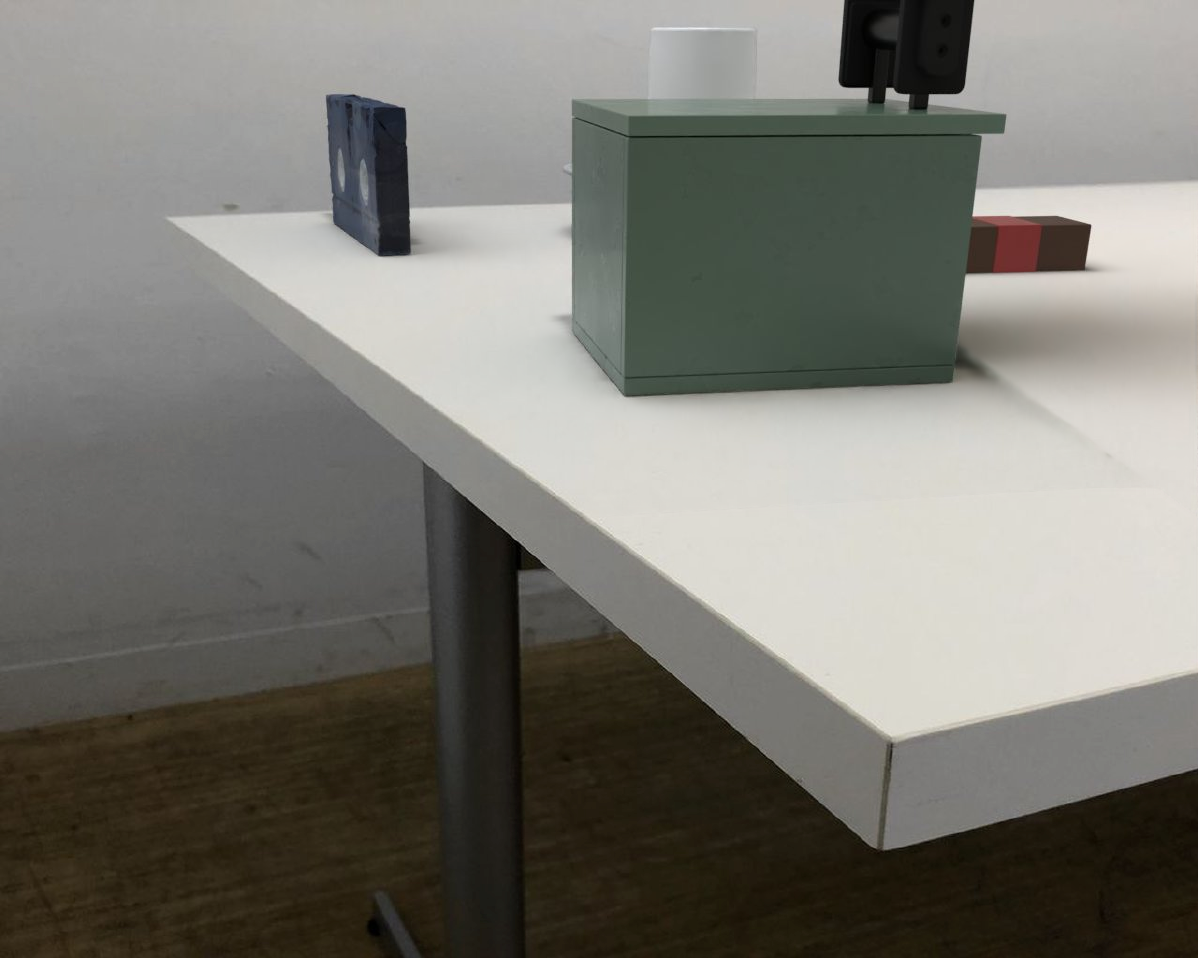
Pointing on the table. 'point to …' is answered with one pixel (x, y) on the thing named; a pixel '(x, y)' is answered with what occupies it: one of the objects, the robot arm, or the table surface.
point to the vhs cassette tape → (369, 171)
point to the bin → (770, 258)
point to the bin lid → (797, 107)
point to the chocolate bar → (1027, 244)
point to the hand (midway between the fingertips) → (898, 86)
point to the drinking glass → (702, 63)
